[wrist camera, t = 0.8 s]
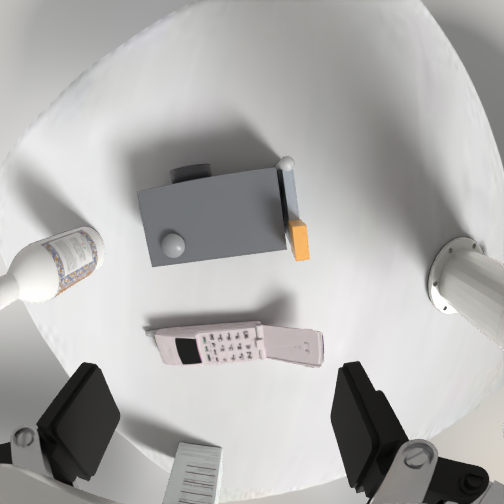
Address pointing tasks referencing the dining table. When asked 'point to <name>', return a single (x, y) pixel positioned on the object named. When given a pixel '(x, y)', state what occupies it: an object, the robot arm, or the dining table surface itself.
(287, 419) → the dining table surface
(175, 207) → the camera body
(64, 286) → the bath foam
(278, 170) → the side door
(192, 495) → the supplement box
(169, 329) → the mobile phone
